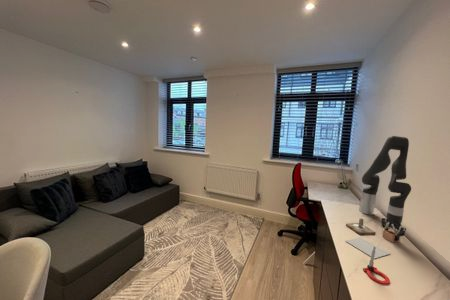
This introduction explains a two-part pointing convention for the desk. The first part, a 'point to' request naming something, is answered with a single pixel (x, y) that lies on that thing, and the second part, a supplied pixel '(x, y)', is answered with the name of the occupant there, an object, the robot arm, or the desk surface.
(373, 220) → the desk surface
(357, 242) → the grey flat panel
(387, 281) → the tow hook
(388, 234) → the collar
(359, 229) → the post stand
